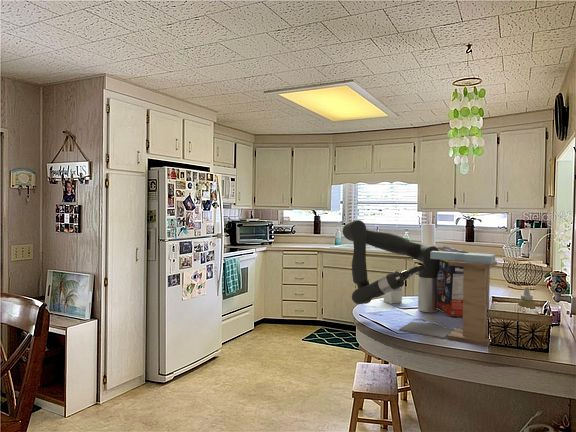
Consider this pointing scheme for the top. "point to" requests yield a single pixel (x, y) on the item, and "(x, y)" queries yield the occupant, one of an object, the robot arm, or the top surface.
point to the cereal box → (450, 286)
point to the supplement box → (394, 296)
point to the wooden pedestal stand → (474, 303)
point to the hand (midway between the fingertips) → (421, 267)
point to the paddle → (463, 257)
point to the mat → (427, 329)
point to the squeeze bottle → (527, 300)
